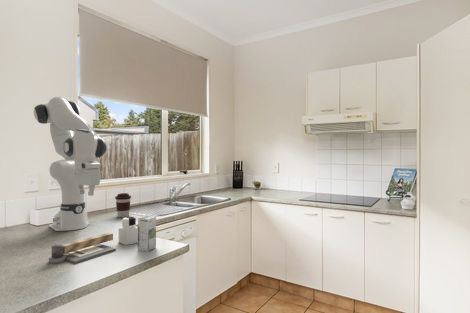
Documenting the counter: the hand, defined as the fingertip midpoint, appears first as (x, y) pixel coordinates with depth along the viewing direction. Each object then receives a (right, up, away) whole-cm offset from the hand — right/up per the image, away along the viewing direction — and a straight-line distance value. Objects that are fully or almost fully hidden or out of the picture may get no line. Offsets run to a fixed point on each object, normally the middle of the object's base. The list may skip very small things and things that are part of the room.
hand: (86, 194), depth 134 cm
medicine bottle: (+17, -24, +8) cm, 30 cm away
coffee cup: (-7, -23, +63) cm, 68 cm away
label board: (+2, -24, -10) cm, 26 cm away
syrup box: (+28, -24, -2) cm, 37 cm away
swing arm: (+3, -22, -7) cm, 23 cm away
